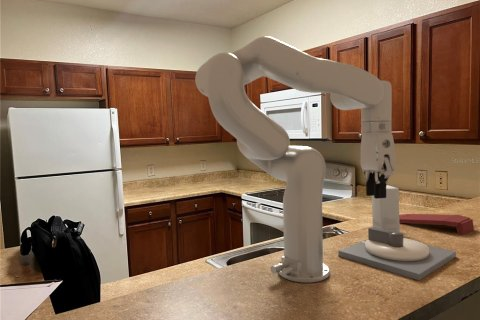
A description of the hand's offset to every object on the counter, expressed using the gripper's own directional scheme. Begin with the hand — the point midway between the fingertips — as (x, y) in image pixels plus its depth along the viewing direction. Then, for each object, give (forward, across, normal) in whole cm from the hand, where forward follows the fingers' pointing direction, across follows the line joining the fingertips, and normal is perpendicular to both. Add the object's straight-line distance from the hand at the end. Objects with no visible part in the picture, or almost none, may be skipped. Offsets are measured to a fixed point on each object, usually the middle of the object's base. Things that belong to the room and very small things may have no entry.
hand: (376, 196), depth 92 cm
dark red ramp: (+18, +26, -36) cm, 48 cm away
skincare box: (+17, +22, -16) cm, 33 cm away
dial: (+16, 0, -6) cm, 17 cm away
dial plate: (+17, 0, -6) cm, 18 cm away
